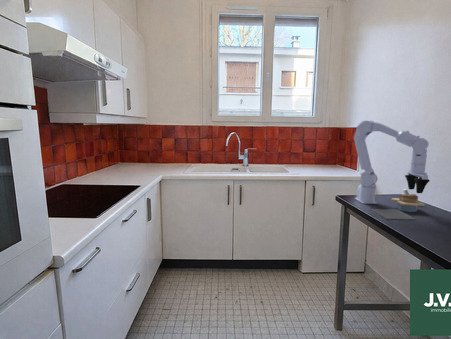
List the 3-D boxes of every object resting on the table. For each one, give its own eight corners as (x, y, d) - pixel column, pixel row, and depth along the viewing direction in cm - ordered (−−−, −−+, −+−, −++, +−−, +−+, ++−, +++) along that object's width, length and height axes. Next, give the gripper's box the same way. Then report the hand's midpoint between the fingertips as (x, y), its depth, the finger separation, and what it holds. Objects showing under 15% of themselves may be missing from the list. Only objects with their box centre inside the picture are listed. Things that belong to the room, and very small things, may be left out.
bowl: (393, 206, 136) (394, 200, 136) (409, 206, 136) (410, 200, 136) (403, 211, 129) (404, 205, 128) (420, 212, 128) (421, 205, 128)
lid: (391, 199, 137) (392, 192, 136) (410, 199, 137) (411, 192, 136) (404, 205, 127) (405, 197, 126) (424, 205, 127) (426, 197, 126)
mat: (371, 209, 131) (371, 209, 131) (397, 210, 131) (397, 209, 131) (386, 219, 118) (386, 218, 118) (415, 219, 118) (415, 218, 118)
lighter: (415, 203, 142) (417, 189, 141) (417, 204, 141) (419, 189, 139) (401, 202, 144) (403, 188, 142) (402, 203, 142) (404, 189, 141)
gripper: (436, 166, 119) (433, 195, 121) (419, 161, 133) (416, 187, 135) (419, 165, 120) (416, 194, 122) (404, 161, 134) (401, 187, 136)
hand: (415, 191), depth 128 cm, fingers open, 7 cm apart
